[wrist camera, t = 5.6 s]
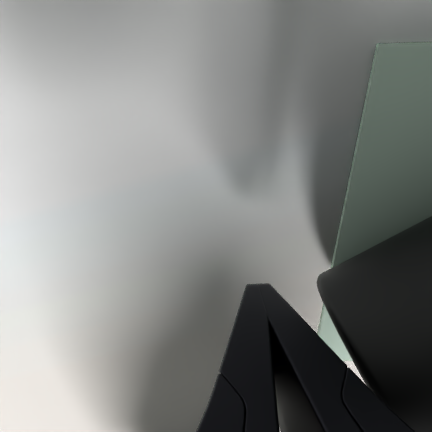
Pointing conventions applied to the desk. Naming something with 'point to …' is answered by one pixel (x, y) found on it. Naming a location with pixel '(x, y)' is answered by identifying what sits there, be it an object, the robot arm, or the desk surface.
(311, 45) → the desk surface
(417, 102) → the mat
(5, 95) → the desk surface
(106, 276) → the desk surface
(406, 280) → the end cap
